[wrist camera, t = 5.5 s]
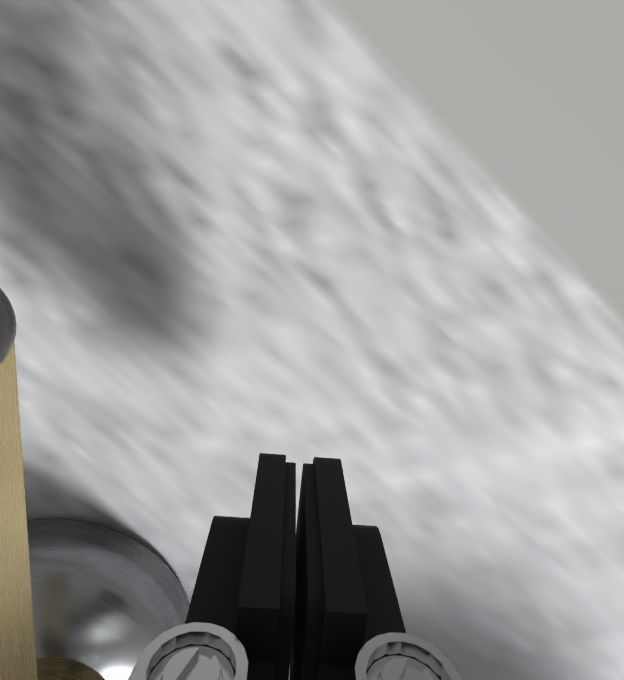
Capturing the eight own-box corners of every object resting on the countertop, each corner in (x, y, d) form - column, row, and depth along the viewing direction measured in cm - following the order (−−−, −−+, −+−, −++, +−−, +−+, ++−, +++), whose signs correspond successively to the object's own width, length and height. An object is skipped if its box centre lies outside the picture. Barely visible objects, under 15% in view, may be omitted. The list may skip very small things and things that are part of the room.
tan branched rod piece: (493, 277, 13) (724, 360, 6) (394, 785, 18) (458, 1155, 11) (-370, 198, 12) (-1344, 184, 5) (-220, 766, 17) (-591, 1169, 10)
